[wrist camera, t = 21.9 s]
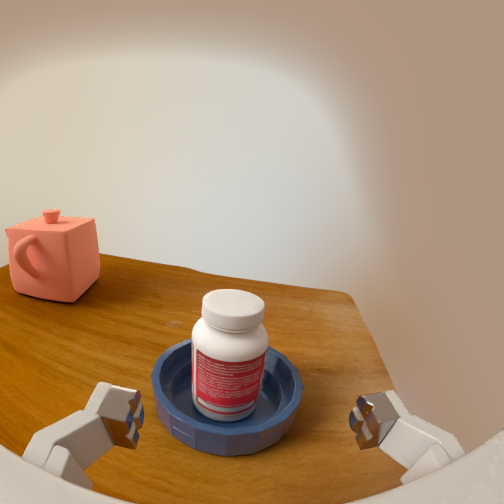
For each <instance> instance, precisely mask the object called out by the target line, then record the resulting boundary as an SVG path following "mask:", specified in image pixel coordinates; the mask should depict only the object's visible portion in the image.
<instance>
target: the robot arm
mask: <svg viewBox="0 0 504 504" xmlns="http://www.w3.org/2000/svg"><path fill="white" fill-rule="evenodd" d="M140 398H141V395H140V391H138V390H135V389H130V388H126V387H122V386H118V385H114V384H109V383H105V382H102V381H101V382H99V383H98V384H97V386H96V388H95V390H94V392H93V393H92V395H91V397H90V399H89V401H88V403H87V405H86V407H85V409H84V411H83V410H79V411H77V412H75V413H73V414H71V415H69V416H68V417H66V418H64V419H62V420H60V421H58V422H56V423H54V424H52V425H50V426H48V427H46V428H44V429H42V430H40V431H38V432H36V433H35V434H34V435H33V437H32V439H31V441H30V443H29V444H28V446H27V448H26V450H25V452H24V454H23V456H22V458H21V457H20V456H18V455H16V454H15V453H13V452H11V451H10V450H8V449H7V448H5V447H4V446H2V445H1V444H0V504H136V503H131V502H128V501H124V500H120V499H117V498H113V497H110V496H107V495H104V494H101V493H98V492H95V491H92V486H93V482H92V480H91V479H90V478H89V477H88V475H87V474H86V473H85V472H84V470H85V469H86V468H88V467H89V466H90V465H91V464H93V463H94V462H95V461H96V460H98V459H99V458H100V457H101V456H103V455H104V454H105V453H106V452H107V451H109V450H110V449H111V448H112V447H114V445H116V446H120V447H125V448H129V449H134V450H136V446H137V443H138V439H139V434H138V431H137V430H139V429H140V428H142V424H143V419H144V409H143V405H142V404H141V403H140V402H139V401H140ZM356 403H357V406H356V407H355V408H353V409H352V411H351V413H350V417H349V423H350V427H351V429H352V431H354V432H355V433H357V435H356V438H355V439H356V441H357V443H358V445H359V448H360V450H363V449H368V448H373V447H377V446H379V448H380V449H381V450H383V451H384V452H385V453H386V454H388V455H389V456H390V457H392V458H393V459H394V460H396V461H397V462H398V463H400V464H401V465H402V466H404V467H405V468H406V469H408V470H407V471H406V472H405V473H404V474H403V475H402V476H401V478H400V480H401V482H402V486H399V487H397V488H394V489H391V490H388V491H386V492H383V493H380V494H377V495H373V496H370V497H367V498H363V499H360V500H356V501H352V502H348V503H344V504H504V429H502V430H501V431H500V432H498V433H497V434H496V435H494V436H493V437H491V438H490V439H489V440H487V441H486V442H484V443H483V444H481V445H480V446H478V447H477V448H475V449H474V450H472V451H470V452H469V453H466V451H465V450H464V448H463V447H462V446H461V444H460V443H459V441H458V440H457V438H456V437H455V435H454V434H452V433H450V432H448V431H445V430H443V429H441V428H439V427H437V426H435V425H433V424H431V423H429V422H427V421H425V420H423V419H421V418H419V417H417V416H415V415H411V414H410V413H409V412H408V410H407V408H406V407H405V405H404V404H403V402H402V401H401V399H400V398H399V397H398V395H397V394H396V392H395V391H393V390H389V391H384V392H378V393H372V394H366V395H361V396H359V397H358V399H357V401H356Z"/></svg>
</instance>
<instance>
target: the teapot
mask: <svg viewBox="0 0 504 504" xmlns="http://www.w3.org/2000/svg"><path fill="white" fill-rule="evenodd" d="M42 213H43V216H41V217H37V218H34V219H31V220H29V221H26V222H23V223H20V224H17V225H15V226H12V227H10V228H7V229H5V232H6V234H7V237H8V243H9V244H8V247H9V248H8V250H9V267H10V275H11V280H12V283H13V286H14V289H15V291H17V292H19V293H23V294H26V295H30V296H34V297H38V298H43V299H48V300H55V301H62V302H75V301H76V300H77V299H78V298H79V297H80V296H81V295H82V294H83V293H84V292H85V291H86V290H87V289H88V288H89V287H90V286H91V285H92V284H93V283H94V282H95V281H96V280H97V278H98V277H99V272H100V259H99V248H98V239H97V232H96V225H95V220H94V219H92V218H80V217H60V216H59V215H60V210H58V209H50V210H44V211H43V212H42Z"/></svg>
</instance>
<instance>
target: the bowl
mask: <svg viewBox="0 0 504 504" xmlns="http://www.w3.org/2000/svg"><path fill="white" fill-rule="evenodd" d="M151 380H152V387H153V394H154V400H155V405H156V409H157V414H158V418H159V419H160V421H161V422H162V423H163V425H164V426H165V427H166V428H167V430H168V431H169V432H170V433H171V435H172V436H174V437H175V438H176V439H178V440H180V441H181V442H183V443H185V444H187V445H188V446H190V447H192V448H194V449H195V450H198V451H202V452H207V453H211V454H216V455H222V456H235V455H244V454H252V453H256V452H258V451H260V450H262V449H264V448H266V447H269V446H271V445H273V444H275V443H277V442H278V441H279V440H280V439H281V438H282V437H283V435H284V434H285V433H286V432H287V431H288V430H289V429H290V427H291V426H292V423H293V421H294V418H295V415H296V412H297V410H298V407H299V404H300V400H301V395H302V390H303V384H302V381H301V378H300V375H299V372H298V370H297V368H296V367H295V366H294V365H293V364H292V363H291V362H290V361H289V360H288V358H287V357H286V356H285V355H283V354H281V353H280V352H278V351H276V350H275V349H273V348H272V347H270V346H268V347H267V353H266V358H265V364H264V369H263V375H262V380H261V385H260V390H259V395H258V400H257V404H256V407H255V409H254V410H253V412H252V413H251V414H250V415H248V416H247V417H245V418H243V419H241V420H238V421H233V422H221V421H216V420H212V419H210V418H208V417H206V416H204V415H203V414H202V413H201V412H199V411H198V409H197V408H196V407H195V405H194V402H193V398H192V339H187V340H185V341H182V342H180V343H178V344H176V345H174V346H172V347H170V348H168V349H167V350H166V351H165V352H164V353H163V354H162V355H161V356H160V357H159V358H158V359H157V360H156V363H155V366H154V369H153V372H152V375H151Z"/></svg>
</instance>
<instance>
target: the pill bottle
mask: <svg viewBox="0 0 504 504" xmlns="http://www.w3.org/2000/svg"><path fill="white" fill-rule="evenodd" d="M264 308H265V304H264V302H263V300H262V299H261V298H259V297H258V296H256V295H254V294H252V293H249V292H246V291H241V290H234V289H220V290H215V291H211V292H209V293H207V294H206V295H205V296H204V298H203V304H202V318H201V319H199V320H198V321H197V323H196V324H195V326H194V328H193V331H192V398H193V402H194V405H195V407H196V408H197V409H198V411H199V412H201V413H202V414H203V415H204V416H206V417H208V418H210V419H212V420H216V421H221V422H233V421H238V420H241V419H243V418H245V417H247V416H248V415H250V414H251V413H252V412H253V410H254V409H255V407H256V404H257V400H258V395H259V390H260V385H261V380H262V375H263V369H264V364H265V358H266V353H267V347H268V334H267V331H266V329H265V328H264V326H263V325H262V324H261V323H262V321H263V318H264Z"/></svg>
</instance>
